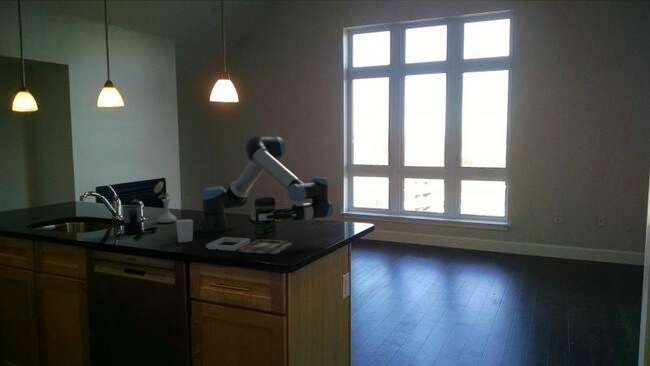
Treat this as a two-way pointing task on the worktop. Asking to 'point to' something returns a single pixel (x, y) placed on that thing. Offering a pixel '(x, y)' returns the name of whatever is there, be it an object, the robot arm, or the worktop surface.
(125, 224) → the milk frother
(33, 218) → the worktop surface
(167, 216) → the flower in vase
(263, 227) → the coffee jar
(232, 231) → the worktop surface
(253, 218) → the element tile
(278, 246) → the brown flat square slab
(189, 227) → the white cup
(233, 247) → the frame
